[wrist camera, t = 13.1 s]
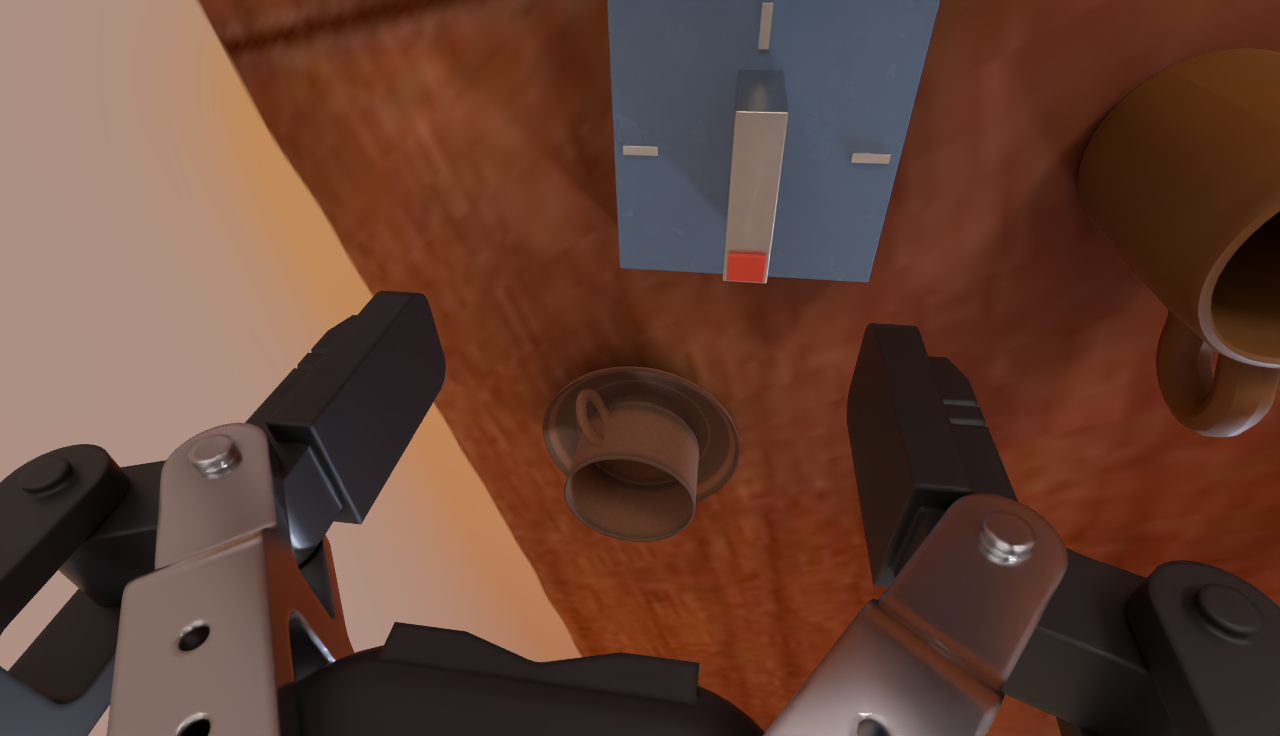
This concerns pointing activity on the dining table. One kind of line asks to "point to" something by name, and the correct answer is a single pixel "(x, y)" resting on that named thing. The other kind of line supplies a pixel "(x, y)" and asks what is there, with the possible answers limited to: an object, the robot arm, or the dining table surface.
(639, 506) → the cup and saucer
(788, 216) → the control panel
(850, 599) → the dining table surface
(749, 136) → the brushed steel block
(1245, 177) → the mug
